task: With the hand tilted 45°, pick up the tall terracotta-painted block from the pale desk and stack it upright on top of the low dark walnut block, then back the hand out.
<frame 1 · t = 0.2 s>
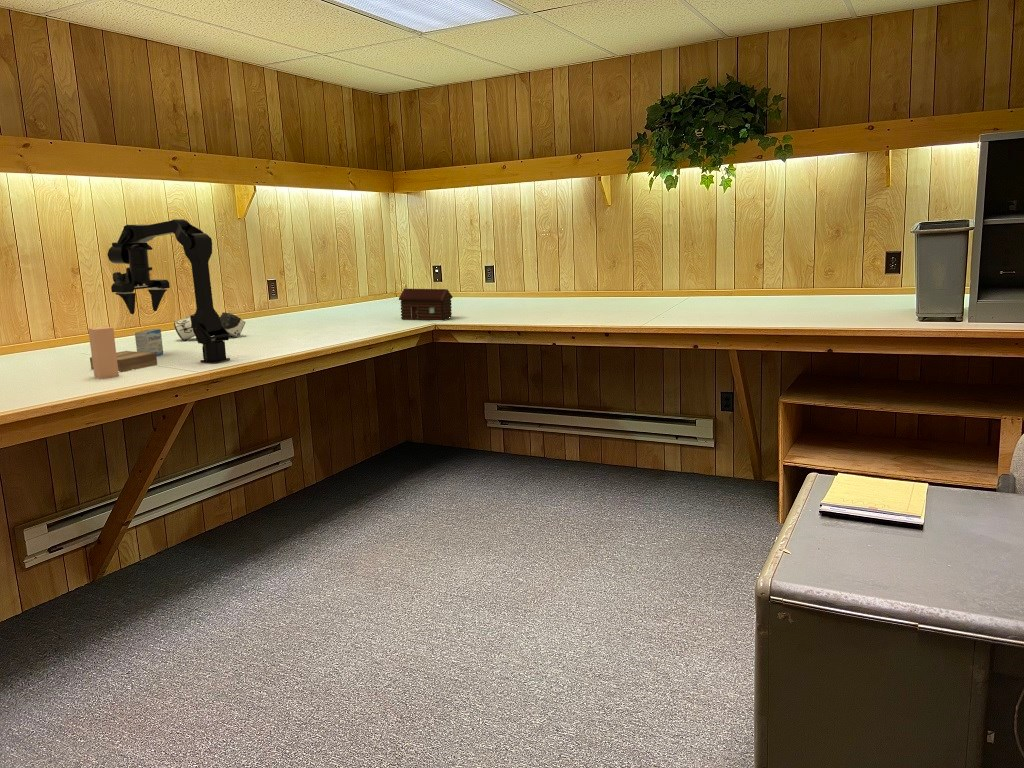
hand: (143, 312, 257), 15 cm above the table, tool pointing down, fingers open, 9 cm apart
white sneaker: (209, 339, 300), on the table
medicine box: (150, 357, 261), on the table
model building: (426, 319, 349), on the table
walnut block: (124, 368, 242), on the table
terracotta block: (106, 376, 227), on the table
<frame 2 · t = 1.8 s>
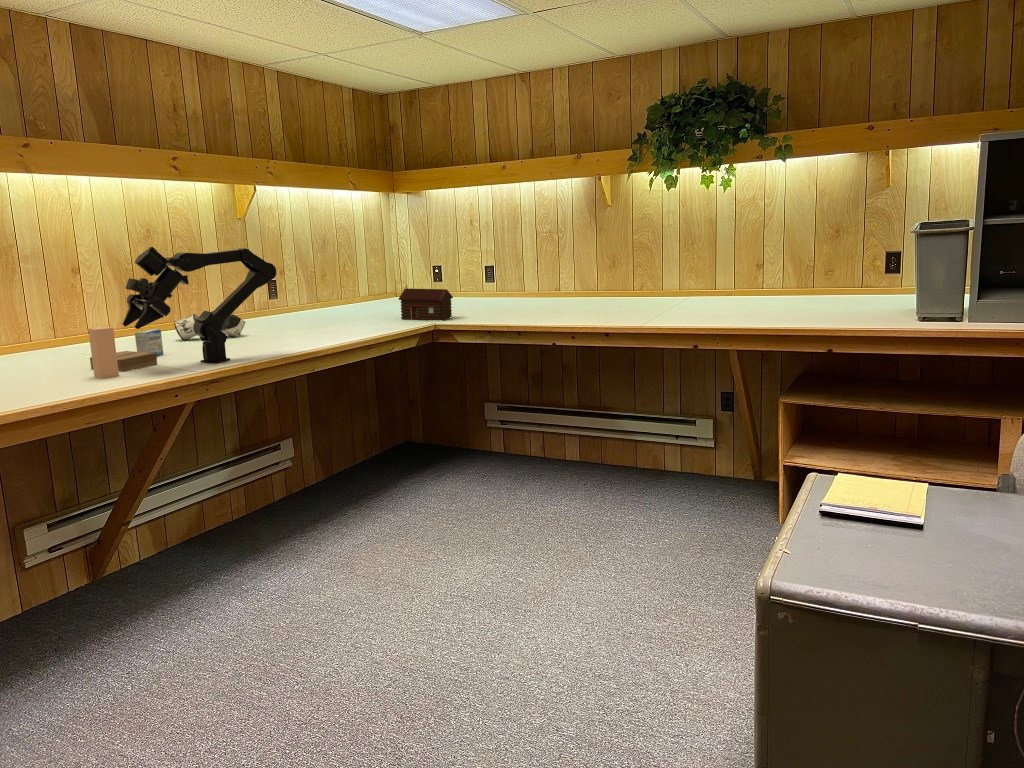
hand: (129, 326, 230), 13 cm above the table, tool tilted 45°, fingers open, 9 cm apart
nothing on the table moved.
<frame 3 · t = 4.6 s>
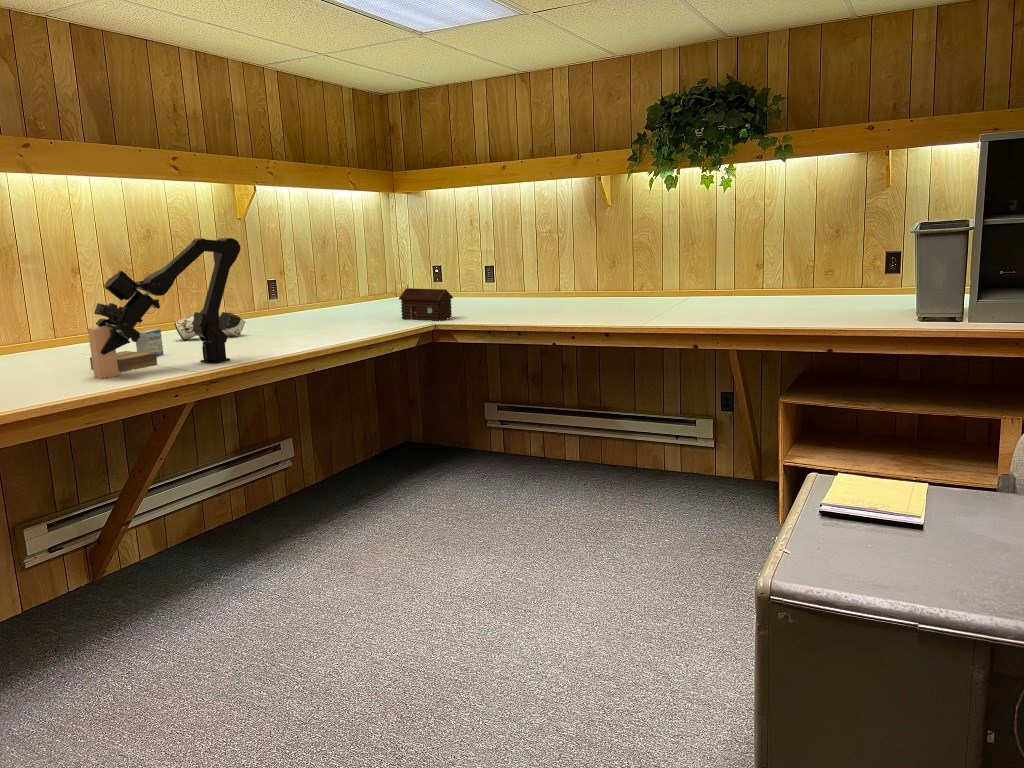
hand: (98, 352, 225), 7 cm above the table, tool tilted 45°, fingers closed on terracotta block, 5 cm apart
terracotta block: (106, 376, 227), on the table, touching gripper
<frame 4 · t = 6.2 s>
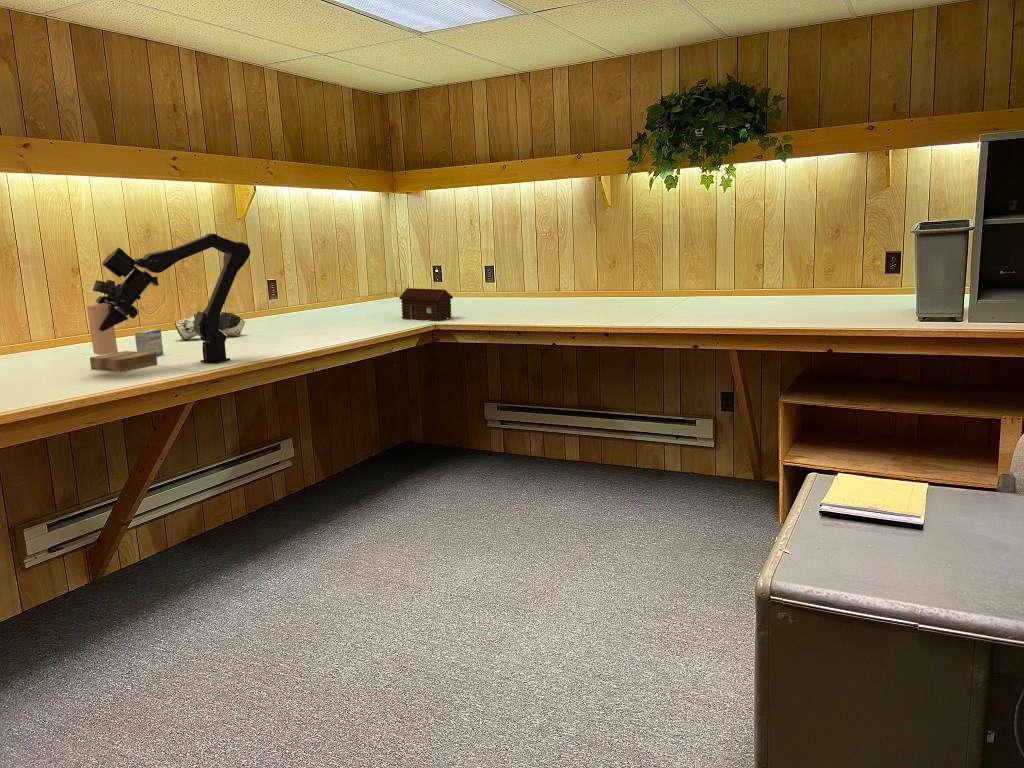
hand: (97, 329, 226), 13 cm above the table, tool tilted 45°, fingers closed on terracotta block, 5 cm apart
terracotta block: (105, 352, 229), point 6 cm above the table, touching gripper
when the fingers open (12 cm above the table, at t = 8.0 s): terracotta block drops 2 cm, resting on walnut block.
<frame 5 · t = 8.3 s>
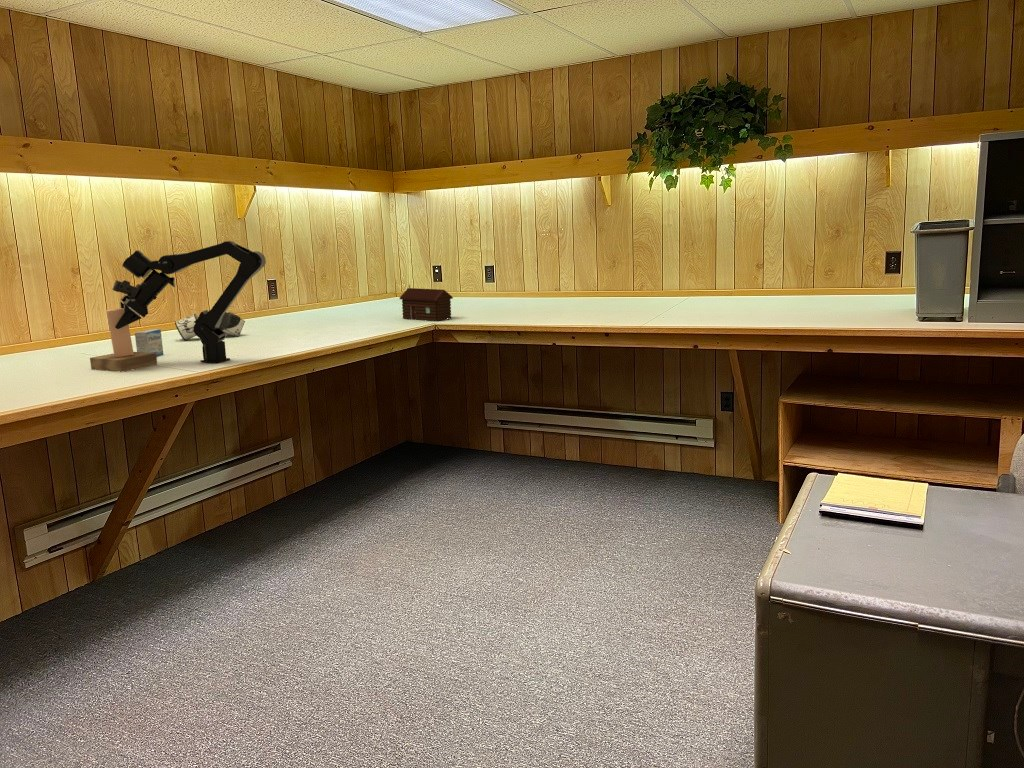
hand: (114, 326, 239), 12 cm above the table, tool tilted 45°, fingers open, 8 cm apart
walnut block: (124, 368, 242), on the table, touching terracotta block
terracotta block: (124, 355, 242), point 4 cm above the table, touching walnut block
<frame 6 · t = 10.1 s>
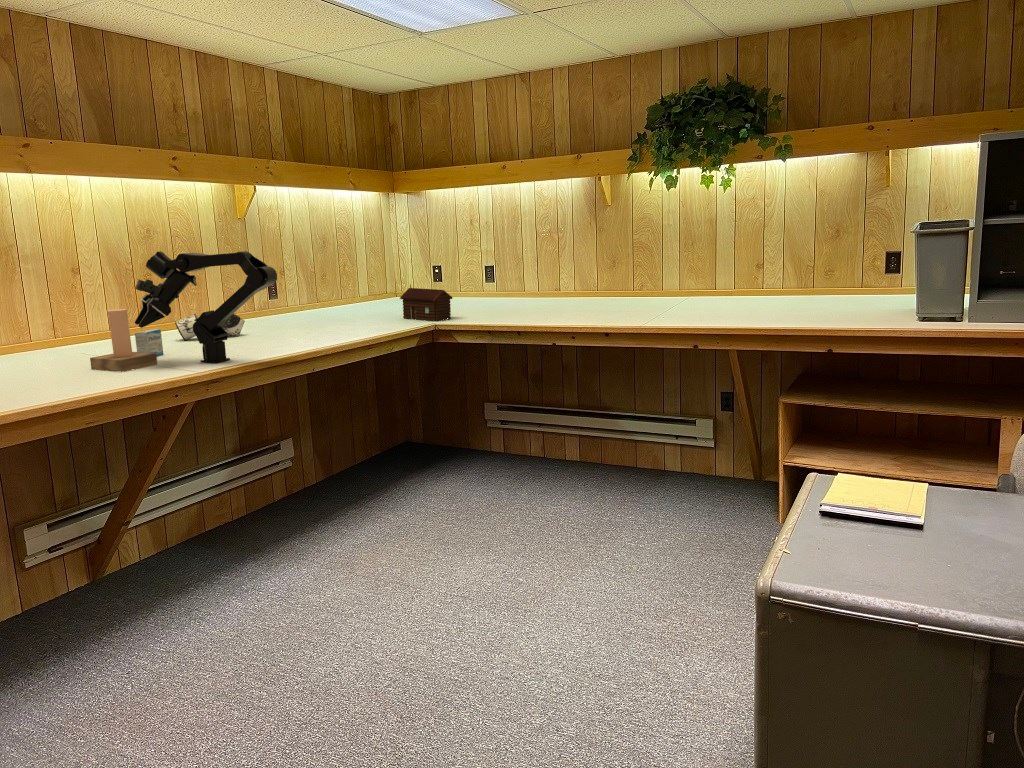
hand: (137, 325, 242), 12 cm above the table, tool tilted 45°, fingers open, 9 cm apart
walnut block: (125, 368, 242), on the table
terracotta block: (123, 355, 242), point 3 cm above the table
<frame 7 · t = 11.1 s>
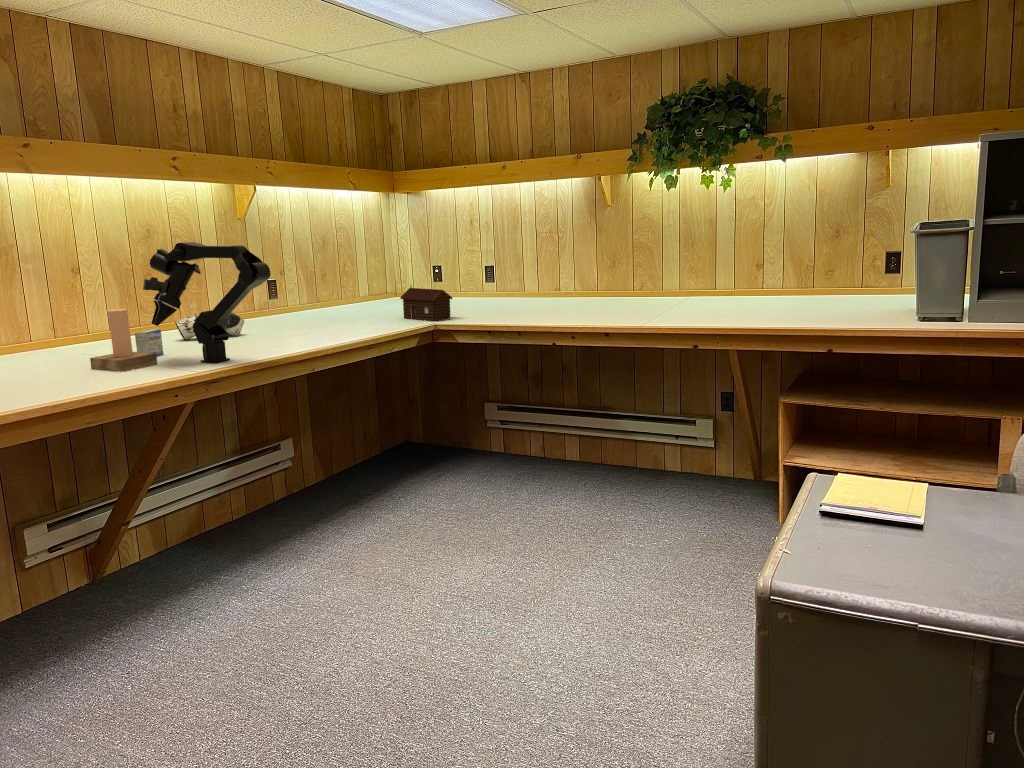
hand: (154, 324, 244), 12 cm above the table, tool tilted 30°, fingers open, 9 cm apart
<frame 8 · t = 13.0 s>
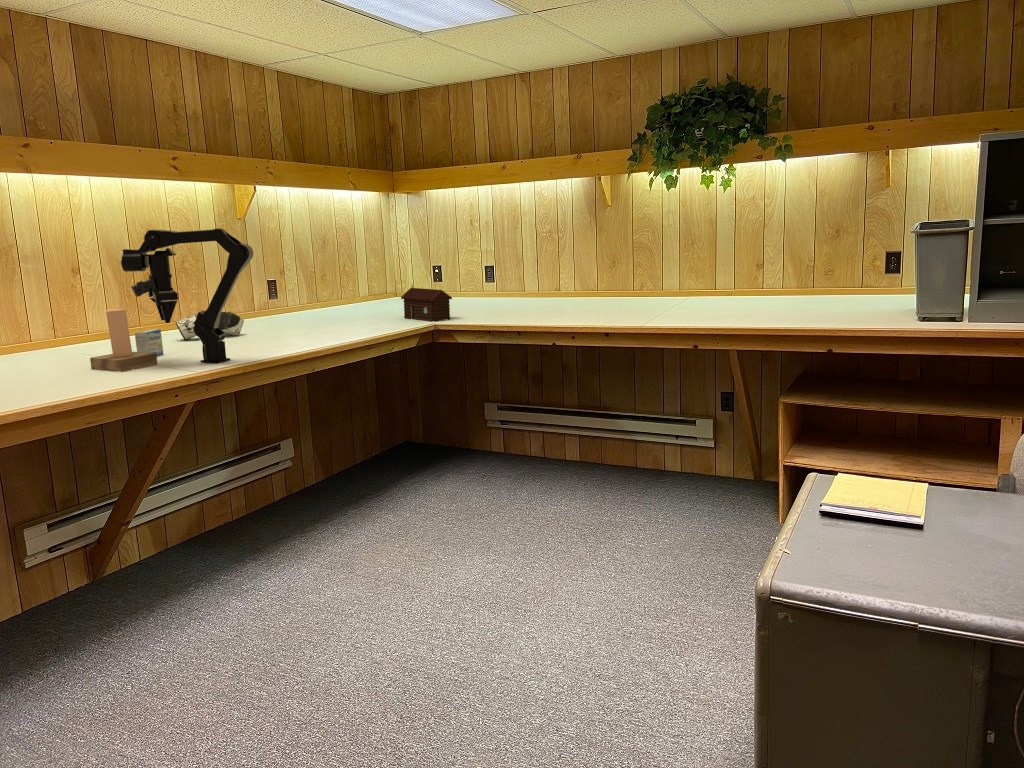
hand: (165, 321, 245), 13 cm above the table, tool pointing down, fingers open, 9 cm apart
walnut block: (125, 368, 242), on the table, touching terracotta block
terracotta block: (123, 355, 242), point 4 cm above the table, touching walnut block
at the end: terracotta block inside the target area on the walnut block (0.1 cm from its centre), point 4.1 cm above the walnut block's base; terracotta block tilted 2°; the gripper is holding nothing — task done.
